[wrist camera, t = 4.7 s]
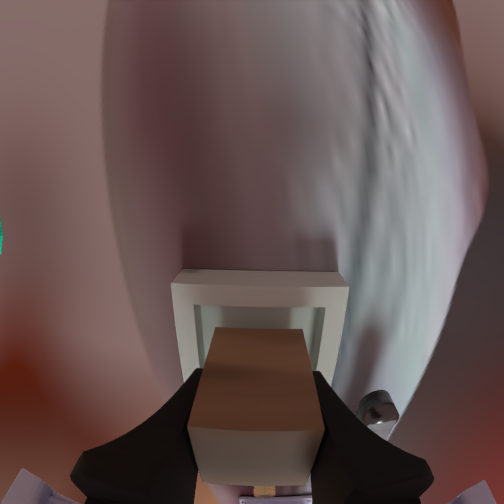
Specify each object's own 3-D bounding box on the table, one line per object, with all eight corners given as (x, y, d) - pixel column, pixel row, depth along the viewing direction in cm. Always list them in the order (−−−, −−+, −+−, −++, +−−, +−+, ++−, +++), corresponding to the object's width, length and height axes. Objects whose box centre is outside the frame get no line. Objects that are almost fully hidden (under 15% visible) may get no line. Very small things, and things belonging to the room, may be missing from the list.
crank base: (361, 455, 19) (370, 489, 15) (248, 462, 19) (246, 500, 15) (381, 413, 17) (397, 451, 13) (249, 422, 17) (246, 466, 13)
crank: (361, 456, 17) (369, 486, 14) (323, 461, 17) (328, 493, 14) (396, 377, 14) (416, 413, 11) (349, 383, 14) (364, 423, 11)
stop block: (294, 390, 14) (305, 484, 8) (219, 388, 14) (202, 482, 8) (302, 328, 13) (324, 429, 7) (215, 326, 13) (187, 425, 7)
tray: (319, 388, 16) (324, 410, 14) (194, 385, 16) (188, 406, 15) (338, 271, 14) (349, 286, 12) (182, 268, 14) (170, 282, 12)
